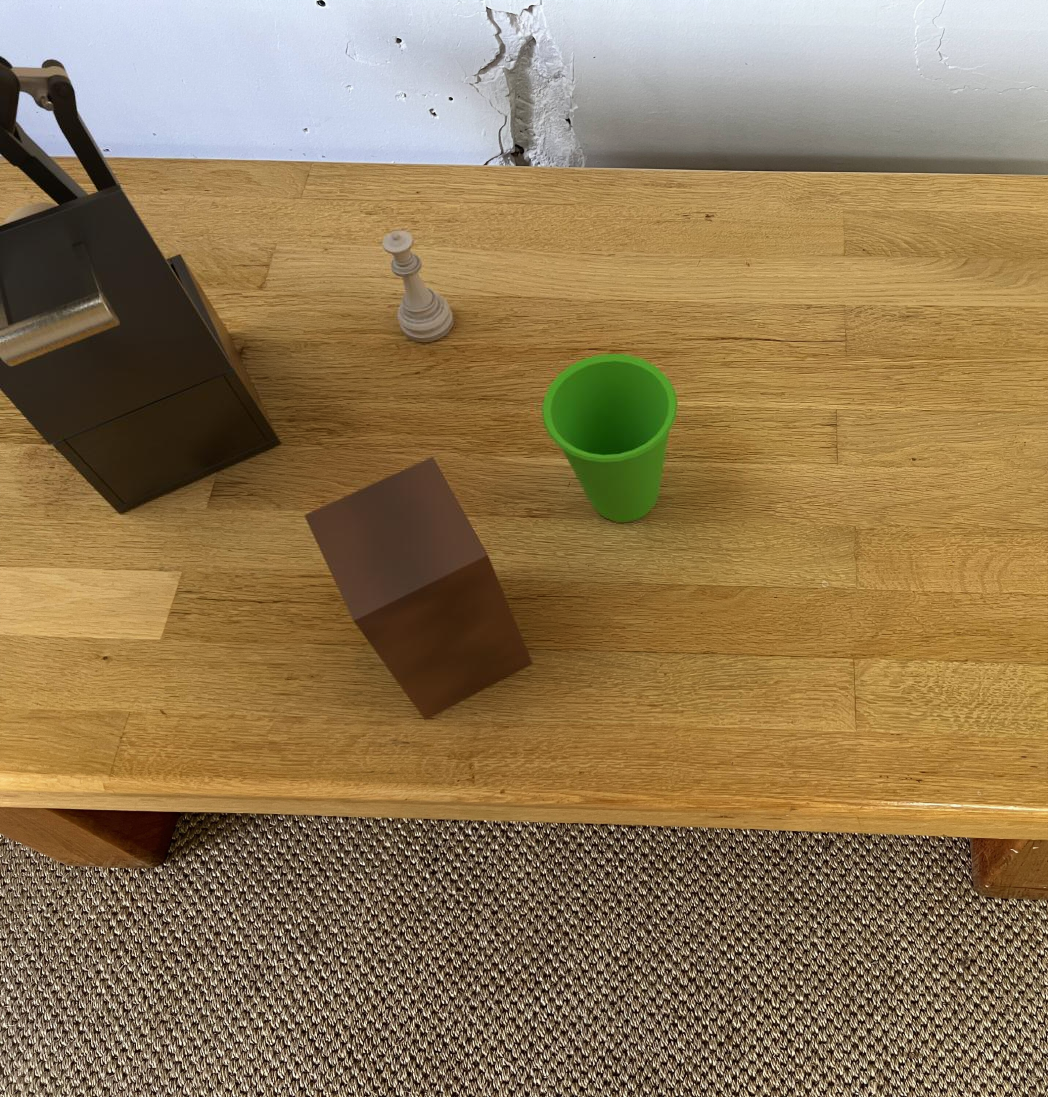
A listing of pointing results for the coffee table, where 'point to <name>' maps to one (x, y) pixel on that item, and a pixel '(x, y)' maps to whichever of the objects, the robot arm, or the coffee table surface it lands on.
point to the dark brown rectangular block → (421, 587)
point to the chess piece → (416, 293)
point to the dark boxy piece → (175, 428)
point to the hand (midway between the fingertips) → (103, 315)
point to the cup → (613, 430)
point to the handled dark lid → (94, 317)
